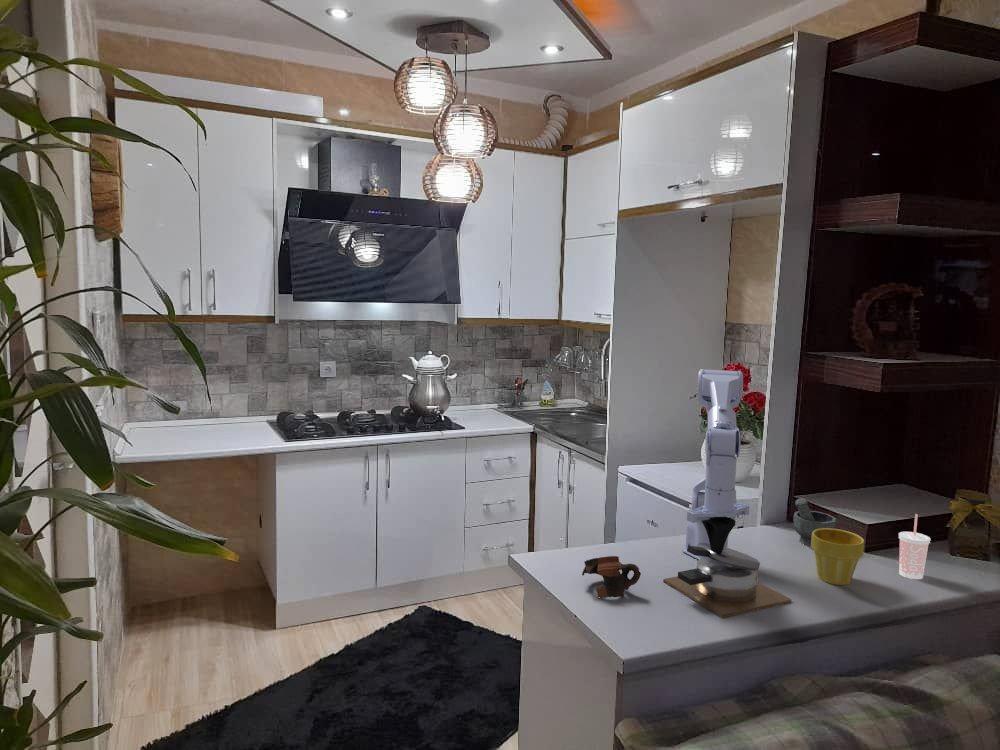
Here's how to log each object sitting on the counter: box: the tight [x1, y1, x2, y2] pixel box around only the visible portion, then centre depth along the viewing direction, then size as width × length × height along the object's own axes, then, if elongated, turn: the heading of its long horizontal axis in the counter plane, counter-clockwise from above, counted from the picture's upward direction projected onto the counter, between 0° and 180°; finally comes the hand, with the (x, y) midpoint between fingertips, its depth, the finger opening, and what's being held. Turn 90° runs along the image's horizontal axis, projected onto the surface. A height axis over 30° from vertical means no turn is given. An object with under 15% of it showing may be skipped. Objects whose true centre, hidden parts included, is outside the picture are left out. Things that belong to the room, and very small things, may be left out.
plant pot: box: [810, 528, 865, 586], centre depth 153 cm, size 10×10×10 cm
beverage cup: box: [898, 513, 932, 580], centre depth 156 cm, size 6×6×14 cm
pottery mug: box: [581, 555, 642, 599], centre depth 146 cm, size 12×10×8 cm
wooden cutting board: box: [662, 557, 793, 619], centre depth 145 cm, size 18×20×5 cm
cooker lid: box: [687, 543, 761, 571], centre depth 144 cm, size 17×13×1 cm
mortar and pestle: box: [792, 497, 837, 547], centre depth 174 cm, size 11×9×12 cm
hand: (716, 551), depth 144 cm, fingers closed
